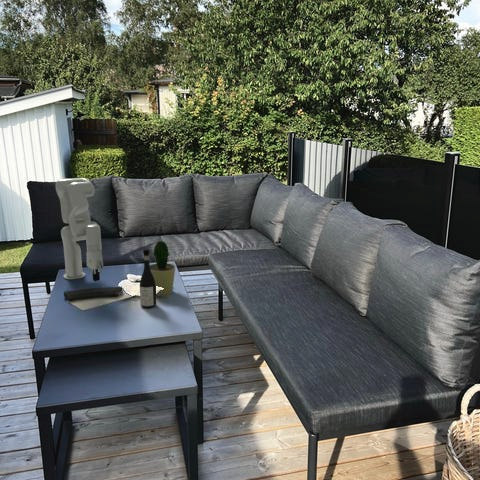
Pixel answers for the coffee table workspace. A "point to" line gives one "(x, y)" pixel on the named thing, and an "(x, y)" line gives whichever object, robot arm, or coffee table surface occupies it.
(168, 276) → the potted cactus
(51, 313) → the coffee table surface
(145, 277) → the wine bottle
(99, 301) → the mat
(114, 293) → the magazine
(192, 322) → the coffee table surface
